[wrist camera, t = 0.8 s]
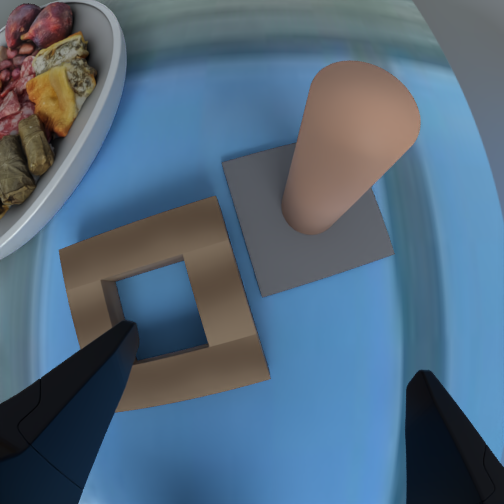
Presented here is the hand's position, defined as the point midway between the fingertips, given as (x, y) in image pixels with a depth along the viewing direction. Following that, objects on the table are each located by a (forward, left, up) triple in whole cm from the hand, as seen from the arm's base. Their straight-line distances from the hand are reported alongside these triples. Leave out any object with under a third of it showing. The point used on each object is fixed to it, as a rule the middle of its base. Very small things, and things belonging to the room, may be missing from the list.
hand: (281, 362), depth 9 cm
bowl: (+25, +20, -13) cm, 35 cm away
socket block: (+3, +7, -13) cm, 15 cm away
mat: (+7, -5, -13) cm, 15 cm away
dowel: (+7, -5, -12) cm, 15 cm away
